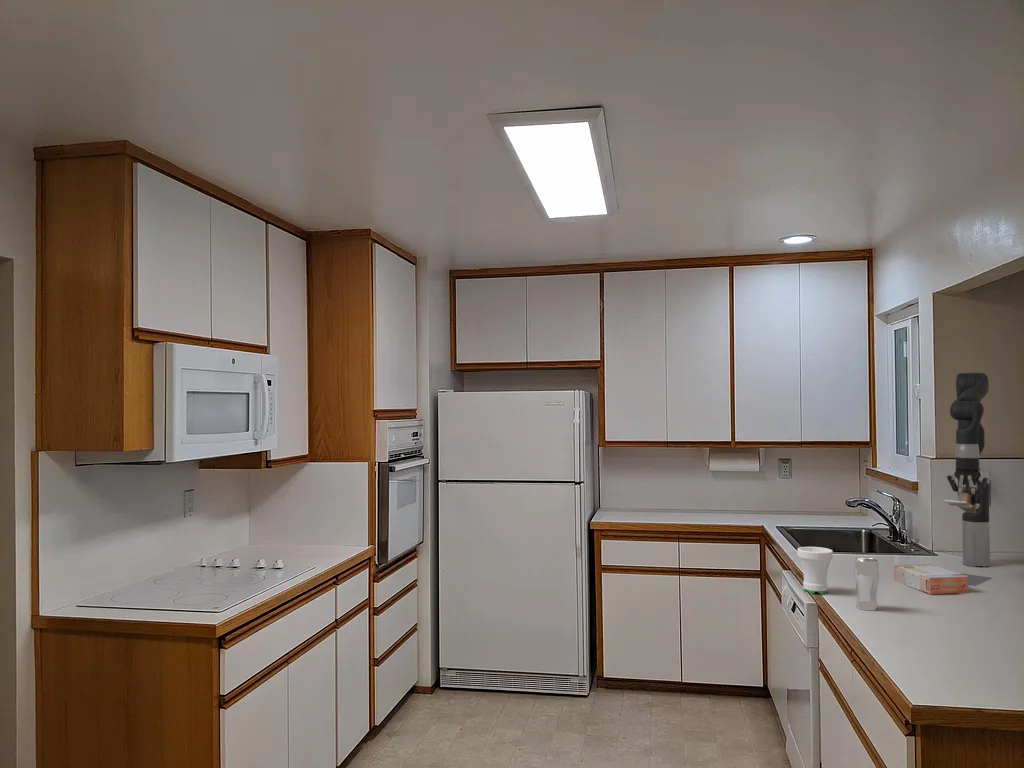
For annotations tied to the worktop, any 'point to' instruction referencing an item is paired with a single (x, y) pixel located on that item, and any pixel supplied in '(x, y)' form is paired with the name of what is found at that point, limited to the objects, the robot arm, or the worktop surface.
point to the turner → (963, 503)
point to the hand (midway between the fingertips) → (967, 503)
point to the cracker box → (931, 579)
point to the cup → (815, 568)
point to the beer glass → (866, 583)
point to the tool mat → (976, 579)
